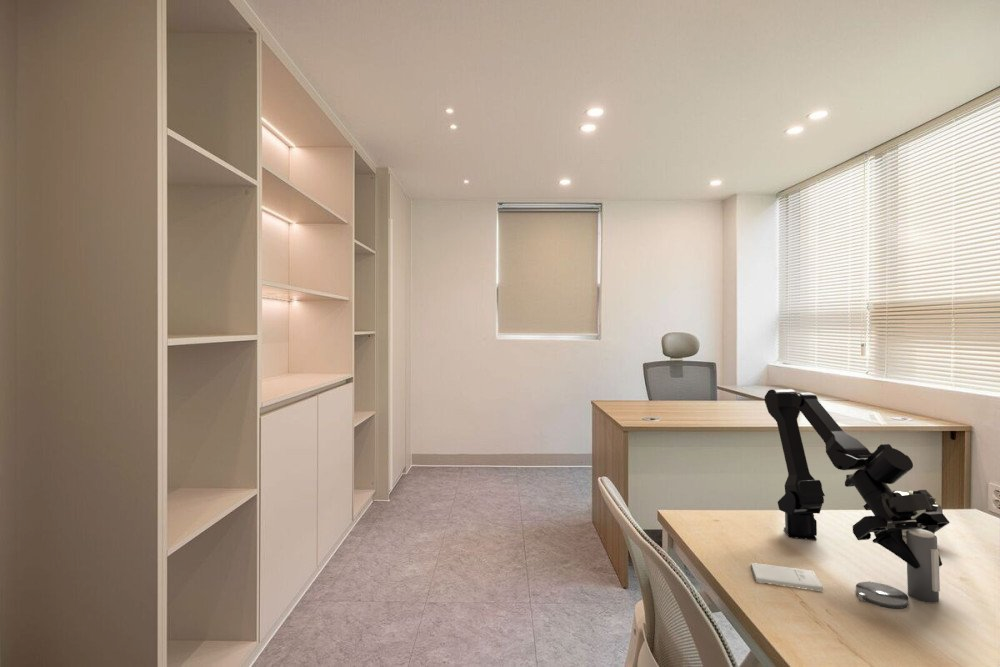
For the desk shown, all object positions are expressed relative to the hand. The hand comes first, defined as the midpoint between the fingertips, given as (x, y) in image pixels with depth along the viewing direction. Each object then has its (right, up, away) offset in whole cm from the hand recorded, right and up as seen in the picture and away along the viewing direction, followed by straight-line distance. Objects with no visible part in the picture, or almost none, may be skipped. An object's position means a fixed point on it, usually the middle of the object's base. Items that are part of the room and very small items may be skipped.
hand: (929, 567), depth 99 cm
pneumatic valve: (+24, -8, +33) cm, 41 cm away
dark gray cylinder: (0, -7, +1) cm, 7 cm away
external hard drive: (-23, -8, +10) cm, 26 cm away
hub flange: (-9, -7, +1) cm, 11 cm away
